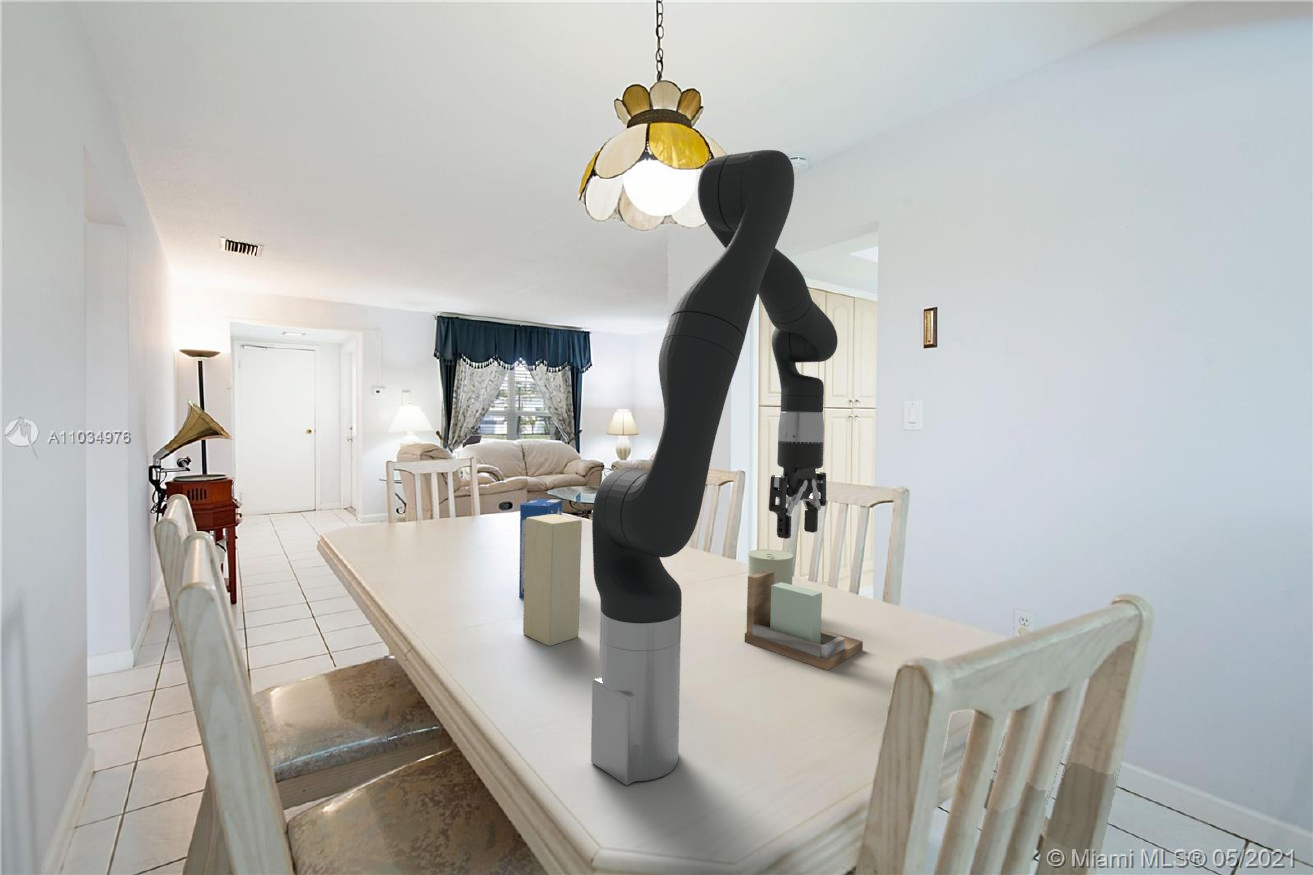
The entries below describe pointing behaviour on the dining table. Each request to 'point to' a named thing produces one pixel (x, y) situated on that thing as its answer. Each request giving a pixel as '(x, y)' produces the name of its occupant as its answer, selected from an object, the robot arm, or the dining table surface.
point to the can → (772, 564)
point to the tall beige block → (552, 578)
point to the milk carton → (526, 510)
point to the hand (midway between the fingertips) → (797, 534)
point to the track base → (789, 645)
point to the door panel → (796, 611)
